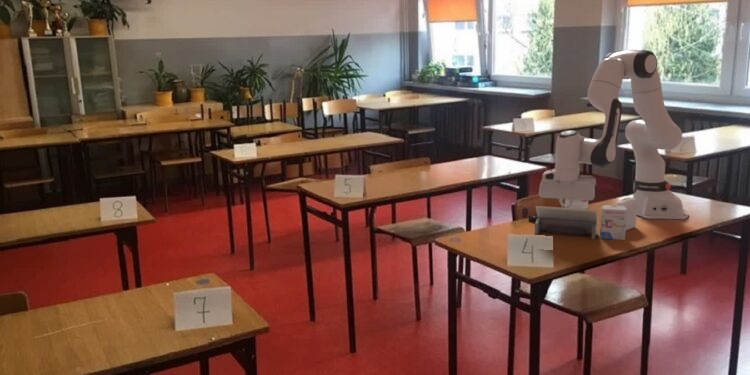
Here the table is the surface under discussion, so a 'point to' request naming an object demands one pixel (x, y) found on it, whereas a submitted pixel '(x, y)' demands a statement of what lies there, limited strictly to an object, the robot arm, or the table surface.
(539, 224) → the cable channel
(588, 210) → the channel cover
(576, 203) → the ink cartridge box
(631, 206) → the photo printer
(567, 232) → the dark grey bar
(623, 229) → the ink box
